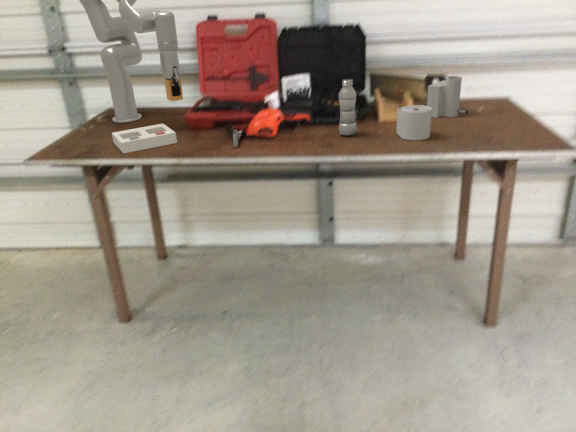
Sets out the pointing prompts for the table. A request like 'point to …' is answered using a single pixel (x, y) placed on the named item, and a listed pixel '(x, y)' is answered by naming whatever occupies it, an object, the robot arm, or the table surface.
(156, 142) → the socket board
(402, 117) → the toilet tissue
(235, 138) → the caliper
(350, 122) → the plastic bottle
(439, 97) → the grey cylinder cluster
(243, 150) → the table surface
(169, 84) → the plug
